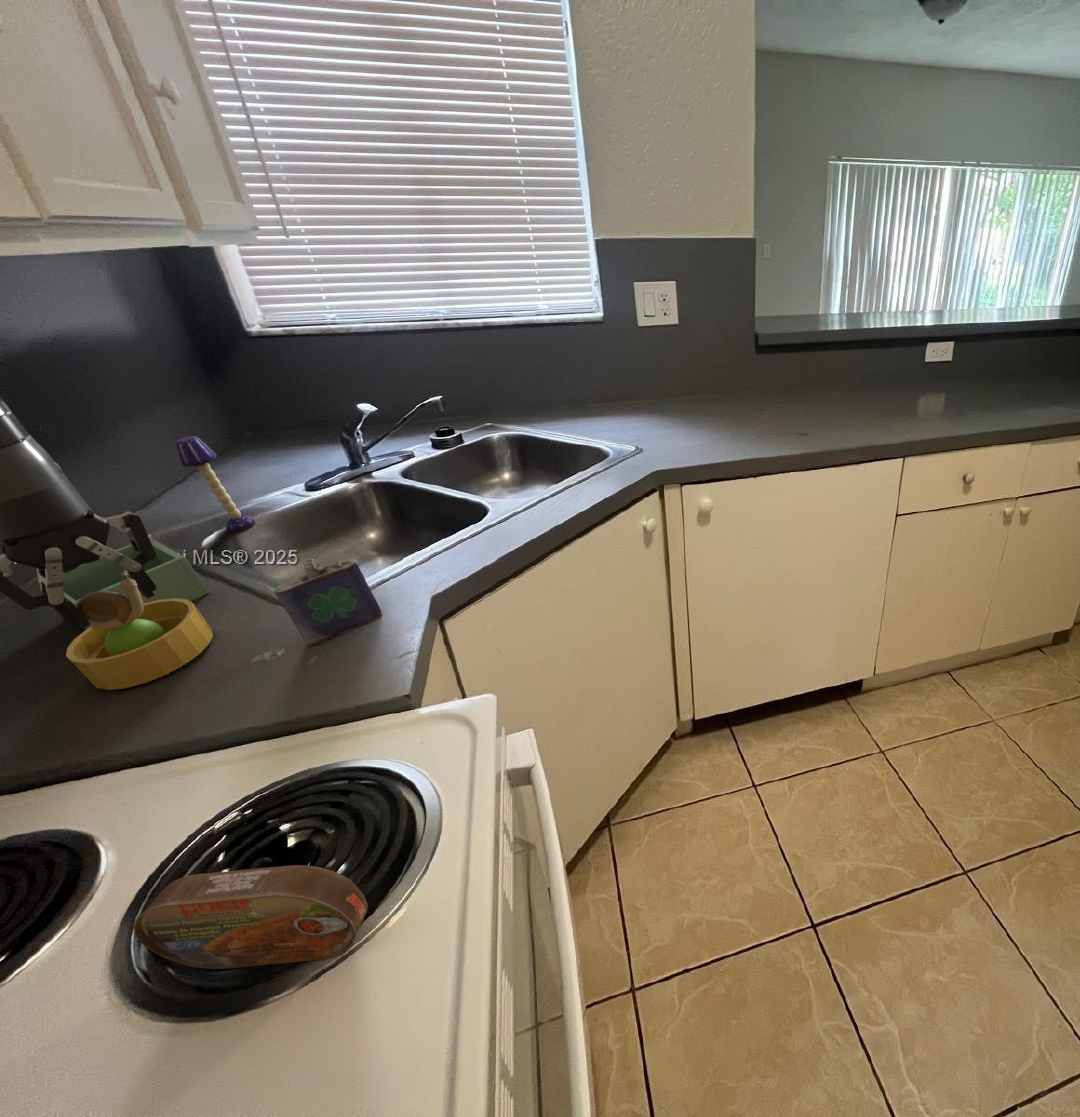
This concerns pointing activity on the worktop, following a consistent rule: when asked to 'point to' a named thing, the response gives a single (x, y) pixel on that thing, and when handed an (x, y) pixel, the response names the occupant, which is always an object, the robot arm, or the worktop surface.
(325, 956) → the tin
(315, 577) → the clover box
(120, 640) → the snail figurine
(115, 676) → the bowl
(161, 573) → the bin
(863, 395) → the worktop surface
